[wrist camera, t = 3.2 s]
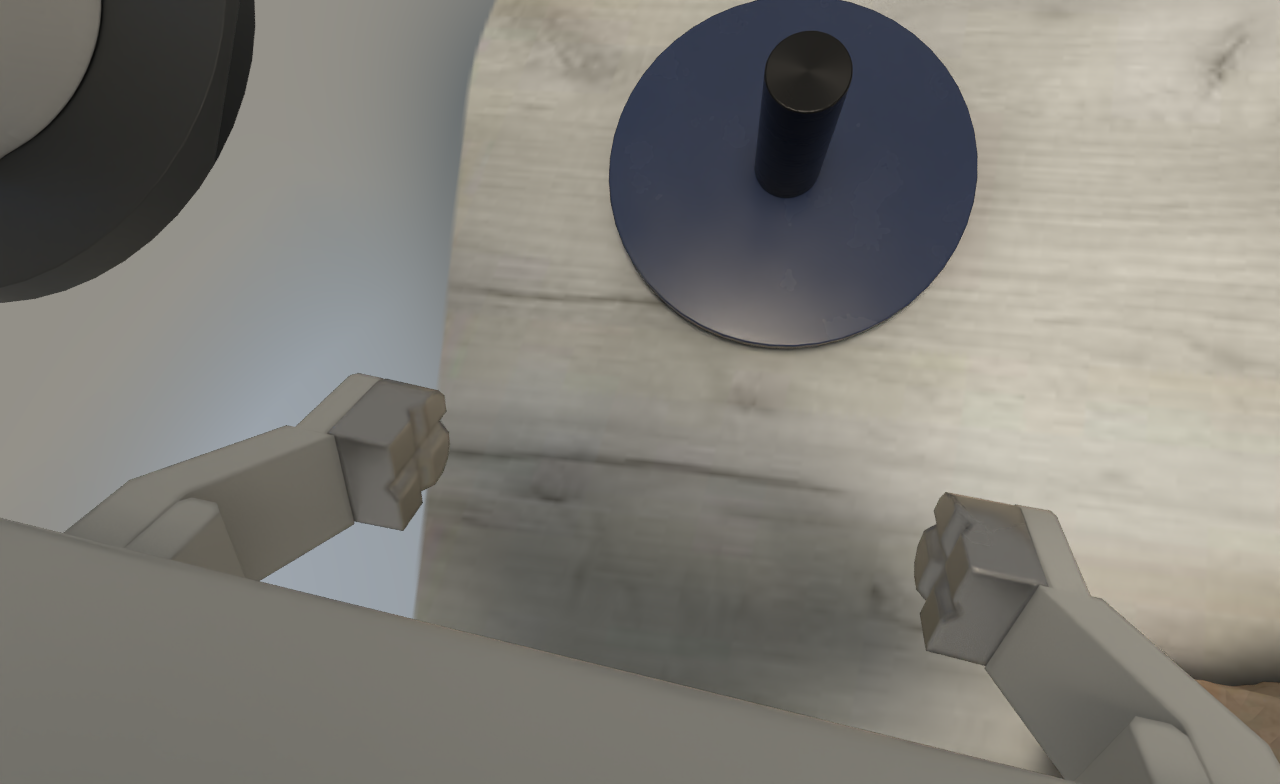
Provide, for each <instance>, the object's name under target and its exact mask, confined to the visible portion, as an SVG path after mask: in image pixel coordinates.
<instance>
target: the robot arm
mask: <svg viewBox="0 0 1280 784" xmlns="http://www.w3.org/2000/svg"><path fill="white" fill-rule="evenodd" d="M100 18H101V0H0V159H1V158H2V157H4V156H5V155H7V154H8V153H10V152H12V151H13V150H15V149H16V148H18V147H20V146H21V145H23V144H25V143H26V142H27V141H29V140H30V139H32V138H33V137H34V136H36V135H37V134H38V133H39V132H41V131H42V130H43V129H44V128H45V127H46V126H47V125H48V124H49V123H50V122H51V121H52V120H53V119H54V118H55V117H56V116H57V115H58V114H59V113H60V111H61V110H62V109H63V108H64V107H65V105H66V104H67V103H68V101H69V100H70V98H71V97H72V96H73V94H74V92H75V91H76V89H77V88H78V86H79V84H80V82H81V80H82V78H83V76H84V74H85V72H86V70H87V68H88V65H89V63H90V60H91V58H92V55H93V52H94V49H95V45H96V41H97V37H98V32H99V26H100ZM445 413H446V404H445V397H444V395H443V394H442V393H441V392H440V391H439V390H434V389H429V388H425V387H421V386H417V385H412V384H408V383H403V382H398V381H394V380H390V379H383V378H379V377H374V376H370V375H365V374H360V373H357V374H353V375H350V376H349V377H347V379H345V380H344V381H343V382H342V383H341V384H340V385H339V386H338V387H337V388H336V389H335V390H334V391H333V392H332V393H331V394H329V395H328V396H327V397H326V398H325V399H324V400H323V401H322V402H321V403H320V404H319V405H318V406H317V407H316V408H315V409H314V410H313V411H312V412H310V413H309V414H308V415H307V416H306V417H305V418H304V419H303V420H302V421H301V422H300V423H299V424H298V425H297V426H296V427H292V426H287V425H286V426H283V427H280V428H277V429H274V430H272V431H269V432H266V433H263V434H260V435H257V436H254V437H252V438H249V439H246V440H243V441H241V442H237V443H234V444H232V445H229V446H226V447H223V448H220V449H217V450H214V451H211V452H209V453H206V454H203V455H200V456H197V457H194V458H191V459H189V460H186V461H183V462H180V463H177V464H174V465H171V466H169V467H166V468H163V469H160V470H157V471H154V472H151V473H148V474H146V475H143V476H140V477H137V478H134V479H131V480H129V481H128V482H126V483H125V484H124V485H123V486H121V487H120V488H119V489H118V490H116V491H115V492H114V493H113V494H111V495H110V496H109V497H108V498H107V499H105V500H104V501H103V502H101V503H100V504H99V505H98V506H96V507H95V508H94V509H93V510H91V511H90V512H89V513H88V514H86V515H85V516H84V517H83V518H82V519H80V520H79V521H78V522H76V523H75V524H74V525H72V526H71V527H70V528H69V529H67V530H66V531H65V532H64V533H60V532H56V531H52V530H47V529H44V528H40V527H36V526H32V525H28V524H23V523H19V522H15V521H11V520H7V519H3V518H0V784H1280V764H1279V762H1278V760H1277V759H1276V757H1275V755H1274V753H1273V751H1272V750H1271V748H1270V746H1269V745H1268V744H1267V743H1266V742H1265V741H1264V740H1263V739H1262V738H1260V737H1259V736H1258V735H1257V734H1256V733H1255V732H1254V731H1253V730H1251V729H1250V728H1249V727H1248V726H1247V725H1246V724H1245V723H1243V722H1242V721H1241V720H1240V719H1239V718H1238V717H1237V716H1235V715H1234V714H1233V713H1232V712H1231V711H1230V710H1229V709H1227V708H1226V707H1225V706H1224V705H1223V704H1222V703H1221V702H1219V701H1218V700H1217V699H1216V698H1215V697H1214V696H1213V695H1211V694H1210V693H1209V692H1208V691H1207V690H1206V689H1205V688H1203V687H1202V686H1201V685H1200V684H1199V683H1198V682H1197V681H1195V680H1194V679H1193V678H1192V677H1191V676H1190V675H1189V674H1187V673H1186V672H1185V671H1184V670H1183V669H1182V668H1181V667H1179V666H1178V665H1177V664H1176V663H1175V662H1174V661H1173V660H1171V659H1170V658H1169V657H1168V656H1167V655H1166V654H1165V653H1163V652H1162V651H1161V650H1160V649H1159V648H1158V647H1157V646H1155V645H1154V644H1153V643H1152V642H1151V641H1150V640H1149V639H1147V638H1146V637H1145V636H1144V635H1143V634H1142V633H1141V632H1139V631H1138V630H1137V629H1136V628H1135V627H1134V626H1133V625H1131V624H1130V623H1129V622H1128V621H1127V620H1126V619H1125V618H1123V617H1122V616H1121V615H1120V614H1119V613H1118V612H1117V611H1115V610H1114V609H1113V608H1112V607H1111V606H1110V605H1109V604H1107V603H1106V602H1105V601H1104V600H1103V599H1101V598H1096V597H1092V596H1091V595H1090V593H1089V591H1088V588H1087V586H1086V584H1085V581H1084V579H1083V577H1082V574H1081V572H1080V570H1079V567H1078V565H1077V563H1076V560H1075V558H1074V556H1073V553H1072V551H1071V549H1070V546H1069V544H1068V542H1067V539H1066V537H1065V535H1064V532H1063V530H1062V528H1061V525H1060V523H1059V521H1058V518H1057V516H1056V515H1055V514H1054V513H1052V512H1051V511H1049V510H1043V509H1038V508H1032V507H1026V506H1021V505H1010V504H1005V503H1000V502H995V501H990V500H984V499H979V498H974V497H969V496H964V495H959V494H954V493H948V492H945V493H944V494H943V495H942V496H941V498H940V499H939V501H938V503H937V505H936V507H935V509H934V514H935V519H936V525H934V526H932V527H930V528H928V529H926V530H925V531H924V532H923V535H922V537H921V539H920V542H919V544H918V547H917V552H916V557H915V562H914V578H915V585H916V590H917V591H918V592H919V593H920V595H921V596H922V597H923V598H924V599H925V600H926V602H925V604H924V606H923V608H922V610H921V612H920V618H921V624H922V630H923V636H924V642H925V648H926V651H929V652H933V653H937V654H941V655H945V656H949V657H953V658H957V659H961V660H965V661H969V662H972V663H976V664H980V665H984V666H986V667H985V670H986V671H987V673H988V674H989V675H990V677H991V678H992V679H993V681H994V682H995V684H996V685H997V686H998V688H999V689H1000V690H1001V692H1002V693H1003V695H1004V696H1005V697H1006V699H1007V700H1008V702H1009V703H1010V704H1011V706H1012V707H1013V708H1014V710H1015V711H1016V713H1017V714H1018V715H1019V717H1020V718H1021V720H1022V721H1023V722H1024V724H1025V725H1026V726H1027V728H1028V729H1029V731H1030V732H1031V733H1032V735H1033V736H1034V737H1035V739H1036V740H1037V742H1038V743H1039V744H1040V746H1041V747H1042V749H1043V750H1044V751H1045V753H1046V754H1047V755H1048V757H1049V758H1050V760H1051V761H1052V762H1053V764H1054V765H1055V767H1056V768H1057V769H1058V771H1059V772H1060V773H1061V775H1062V776H1063V778H1064V779H1062V778H1058V777H1054V776H1050V775H1046V774H1042V773H1038V772H1033V771H1029V770H1025V769H1021V768H1017V767H1013V766H1009V765H1005V764H1001V763H997V762H993V761H989V760H985V759H981V758H976V757H972V756H968V755H964V754H960V753H956V752H952V751H948V750H944V749H940V748H936V747H932V746H928V745H924V744H920V743H915V742H911V741H907V740H903V739H899V738H895V737H891V736H887V735H883V734H879V733H875V732H871V731H867V730H863V729H859V728H854V727H850V726H846V725H842V724H838V723H834V722H830V721H826V720H822V719H818V718H814V717H810V716H806V715H802V714H798V713H793V712H789V711H785V710H781V709H777V708H773V707H769V706H765V705H761V704H757V703H753V702H749V701H745V700H741V699H736V698H732V697H728V696H724V695H720V694H716V693H712V692H708V691H704V690H700V689H696V688H692V687H688V686H684V685H680V684H675V683H671V682H667V681H663V680H659V679H655V678H651V677H647V676H643V675H639V674H635V673H631V672H627V671H622V670H618V669H614V668H610V667H606V666H602V665H598V664H594V663H590V662H586V661H582V660H578V659H574V658H570V657H565V656H561V655H557V654H553V653H549V652H545V651H541V650H537V649H533V648H529V647H525V646H521V645H517V644H513V643H508V642H504V641H500V640H496V639H492V638H488V637H484V636H480V635H476V634H472V633H468V632H464V631H460V630H456V629H451V628H447V627H443V626H439V625H435V624H431V623H427V622H423V621H419V620H415V619H411V618H406V617H403V616H398V615H394V614H390V613H386V612H382V611H378V610H374V609H370V608H365V607H362V606H358V605H353V604H350V603H345V602H341V601H337V600H333V599H329V598H325V597H321V596H317V595H313V594H308V593H304V592H301V591H296V590H292V589H288V588H284V587H280V586H276V585H272V584H268V583H264V582H260V580H262V579H264V578H265V577H267V576H269V575H270V574H272V573H274V572H275V571H277V570H279V569H280V568H282V567H284V566H285V565H287V564H288V563H290V562H292V561H294V560H295V559H297V558H299V557H300V556H302V555H304V554H305V553H307V552H308V551H310V550H312V549H313V548H315V547H317V546H319V545H320V544H322V543H324V542H325V541H327V540H329V539H330V538H332V537H334V536H335V535H337V534H339V533H340V532H342V531H343V530H345V529H347V528H349V527H350V526H352V525H354V521H356V522H360V523H365V524H371V525H375V526H380V527H385V528H390V529H396V530H401V531H403V530H404V529H405V528H406V526H407V525H408V523H409V522H410V520H411V519H412V517H413V516H414V515H415V513H416V512H417V510H418V509H419V507H420V506H421V505H422V503H423V502H422V495H421V491H423V490H425V489H427V488H429V487H431V486H433V485H435V484H436V483H437V481H438V480H439V478H440V476H441V475H442V473H443V471H444V468H445V465H446V462H447V460H448V456H449V447H450V440H449V432H448V431H447V429H446V428H445V427H444V425H443V424H442V423H441V422H440V419H441V418H442V417H443V415H444V414H445Z"/></svg>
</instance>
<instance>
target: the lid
mask: <svg viewBox="0 0 1280 784" xmlns="http://www.w3.org/2000/svg"><path fill="white" fill-rule="evenodd" d="M976 183H977V148H976V140H975V133H974V128H973V125H972V121H971V118H970V114H969V111H968V108H967V105H966V103H965V101H964V99H963V97H962V94H961V92H960V90H959V88H958V86H957V84H956V83H955V81H954V79H953V78H952V76H951V75H950V73H949V71H948V70H947V68H946V67H945V66H944V64H943V63H942V62H941V61H940V60H939V59H938V57H937V56H936V55H935V54H934V53H933V51H932V50H931V49H930V48H929V47H928V46H926V45H925V44H924V43H923V42H922V41H921V40H920V39H919V38H918V37H916V36H915V35H914V34H913V33H911V32H910V31H909V30H907V29H906V28H904V27H903V26H901V25H900V24H898V23H897V22H895V21H894V20H892V19H890V18H888V17H886V16H884V15H882V14H880V13H878V12H876V11H874V10H871V9H868V8H866V7H863V6H860V5H857V4H854V3H851V2H847V1H842V0H756V1H753V2H749V3H746V4H742V5H739V6H735V7H733V8H730V9H728V10H726V11H723V12H721V13H719V14H716V15H714V16H712V17H710V18H708V19H707V20H705V21H703V22H701V23H700V24H698V25H696V26H694V27H693V28H691V29H690V30H689V31H687V32H686V33H685V34H683V35H682V36H681V37H679V38H678V39H677V40H675V41H674V42H673V43H672V44H671V45H670V46H669V47H668V48H667V49H666V50H664V51H663V52H662V53H661V54H660V55H659V56H658V57H657V58H656V60H655V61H654V62H653V63H652V64H651V66H650V67H649V68H648V69H647V70H646V72H645V73H644V74H643V76H642V77H641V79H640V80H639V82H638V83H637V85H636V87H635V88H634V90H633V91H632V93H631V94H630V97H629V99H628V101H627V103H626V105H625V107H624V109H623V111H622V114H621V116H620V119H619V122H618V125H617V129H616V132H615V135H614V139H613V145H612V150H611V155H610V169H609V187H610V200H611V206H612V210H613V215H614V219H615V224H616V227H617V229H618V232H619V235H620V238H621V240H622V243H623V245H624V247H625V249H626V251H627V253H628V255H629V257H630V259H631V261H632V263H633V264H634V266H635V268H636V269H637V271H638V272H639V274H640V275H641V276H642V278H643V279H644V281H645V282H646V283H647V285H648V286H649V287H650V288H651V289H652V290H653V291H654V292H655V293H656V294H657V295H658V297H659V298H660V299H661V300H662V301H663V302H664V303H666V304H667V305H668V306H669V307H671V308H672V309H673V310H674V311H676V312H677V313H678V314H679V315H680V316H682V317H684V318H685V319H687V320H688V321H690V322H692V323H693V324H695V325H697V326H698V327H700V328H702V329H704V330H706V331H709V332H711V333H713V334H716V335H718V336H720V337H722V338H726V339H729V340H733V341H736V342H739V343H743V344H748V345H754V346H760V347H767V348H802V347H812V346H819V345H824V344H828V343H832V342H837V341H841V340H844V339H846V338H849V337H852V336H855V335H857V334H860V333H863V332H865V331H867V330H869V329H871V328H873V327H875V326H876V325H878V324H880V323H882V322H884V321H886V320H887V319H889V318H890V317H892V316H893V315H895V314H896V313H897V312H899V311H900V310H902V309H903V308H905V307H906V306H907V305H909V304H910V303H911V302H912V301H913V300H914V299H915V298H916V297H917V296H918V295H920V294H921V293H922V292H923V291H924V290H925V289H926V288H927V287H928V286H929V285H930V284H931V282H932V281H933V280H934V279H935V278H936V277H937V275H938V274H939V273H940V272H941V271H942V269H943V268H944V267H945V265H946V263H947V262H948V260H949V259H950V257H951V256H952V254H953V252H954V251H955V249H956V248H957V246H958V243H959V241H960V239H961V237H962V235H963V232H964V230H965V228H966V226H967V223H968V219H969V216H970V213H971V209H972V206H973V203H974V196H975V190H976Z"/></svg>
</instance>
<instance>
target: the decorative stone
mask: <svg viewBox="0 0 1280 784" xmlns="http://www.w3.org/2000/svg"><path fill="white" fill-rule="evenodd" d="M1195 681H1197V682H1198V683H1199V684H1200V685H1201V686H1202V687H1203V688H1205V689H1206V690H1207V691H1208V692H1209V693H1210V694H1211V695H1213V696H1214V697H1215V698H1216V699H1217V700H1218V701H1219V702H1221V703H1222V704H1223V705H1224V706H1225V707H1226V708H1227V709H1229V710H1230V711H1231V712H1232V713H1233V714H1234V715H1235V716H1237V717H1238V718H1239V719H1240V720H1241V721H1242V722H1243V723H1245V724H1246V725H1247V726H1248V727H1249V728H1250V729H1251V730H1253V731H1254V732H1255V733H1256V734H1257V735H1258V736H1259V737H1260V738H1262V739H1263V740H1264V741H1265V742H1266V743H1267V744H1268V745H1269V746H1270V748H1271V750H1272V751H1273V753H1274V755H1275V757H1276V759H1277V760H1278V762H1279V764H1280V683H1278V682H1261V683H1259V684H1257V685H1241V686H1233V687H1232V686H1226V685H1221V684H1215V683H1211V682H1208V681H1204V680H1195Z"/></svg>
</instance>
